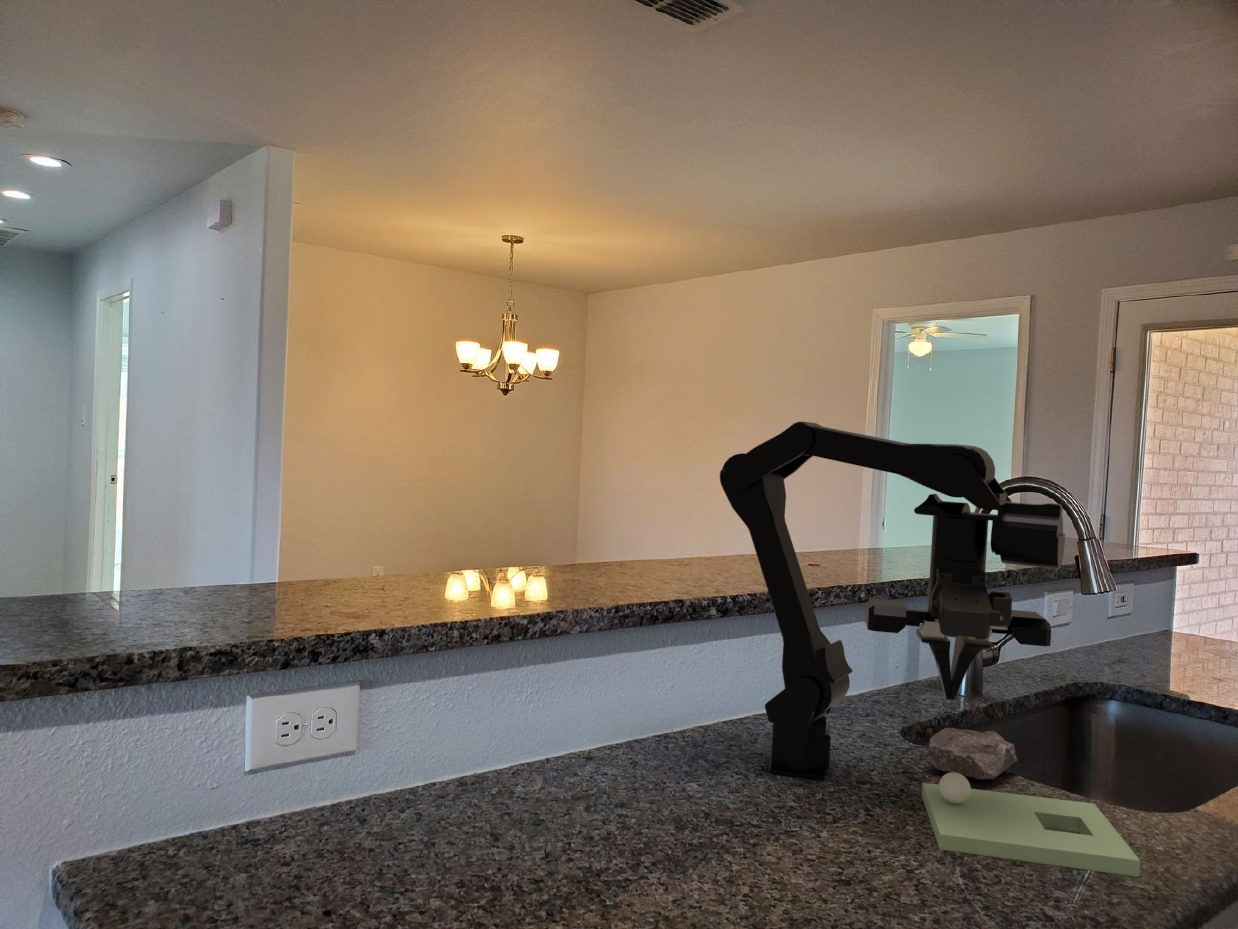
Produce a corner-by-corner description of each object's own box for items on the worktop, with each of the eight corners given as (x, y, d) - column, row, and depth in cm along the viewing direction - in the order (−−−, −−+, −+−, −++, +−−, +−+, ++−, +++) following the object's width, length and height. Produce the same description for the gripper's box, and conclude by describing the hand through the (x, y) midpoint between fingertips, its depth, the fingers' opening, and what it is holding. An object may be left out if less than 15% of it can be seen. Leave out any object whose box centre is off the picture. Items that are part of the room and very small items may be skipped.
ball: (946, 804, 95) (927, 786, 98) (965, 814, 96) (945, 796, 99) (964, 779, 95) (944, 762, 98) (982, 790, 96) (962, 772, 99)
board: (939, 850, 89) (940, 834, 89) (921, 796, 103) (922, 782, 102) (1139, 877, 85) (1140, 860, 85) (1093, 818, 99) (1094, 803, 99)
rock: (1030, 768, 112) (1031, 731, 112) (987, 790, 104) (988, 750, 104) (967, 751, 118) (968, 716, 118) (922, 770, 110) (923, 733, 110)
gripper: (875, 560, 93) (867, 710, 94) (1070, 575, 90) (1060, 730, 90) (868, 549, 104) (860, 683, 105) (1041, 561, 101) (1033, 700, 101)
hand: (949, 699), depth 100 cm, fingers closed
